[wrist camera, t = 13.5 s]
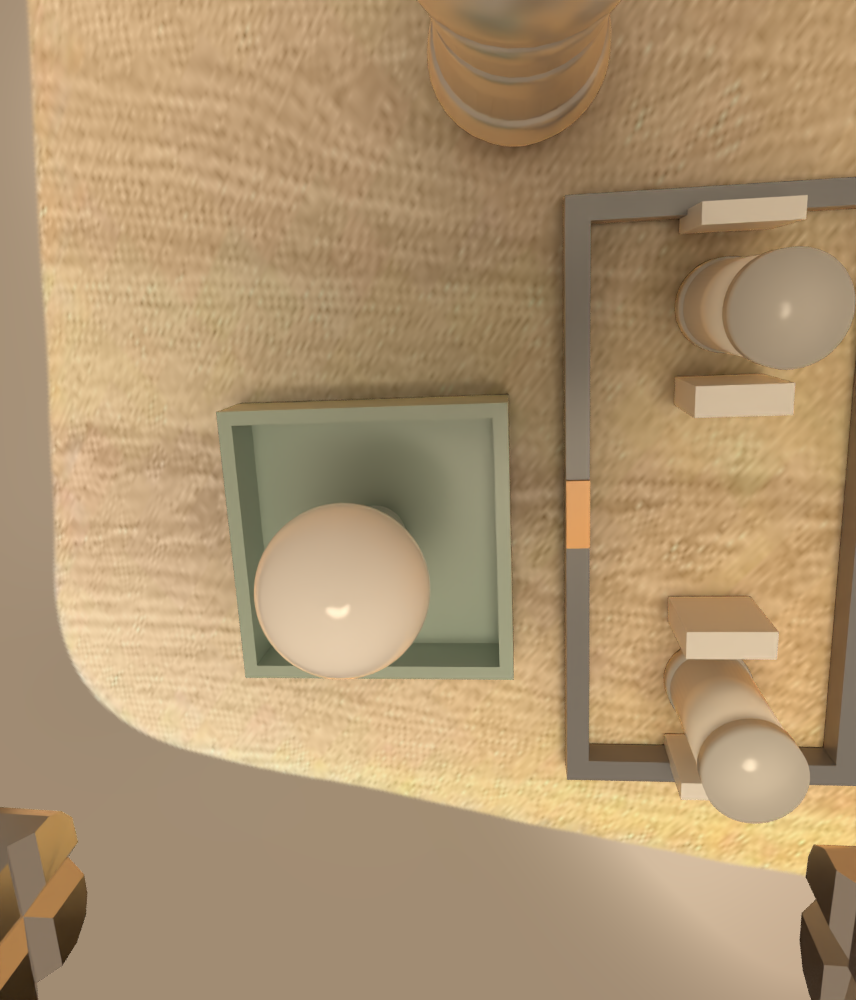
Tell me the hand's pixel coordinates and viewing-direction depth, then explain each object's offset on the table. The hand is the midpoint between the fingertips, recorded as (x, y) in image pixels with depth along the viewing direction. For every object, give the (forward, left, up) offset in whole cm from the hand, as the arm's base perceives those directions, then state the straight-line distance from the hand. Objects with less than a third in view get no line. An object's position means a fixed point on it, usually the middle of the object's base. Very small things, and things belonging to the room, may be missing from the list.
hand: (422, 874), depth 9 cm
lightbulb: (+4, -5, -27) cm, 28 cm away
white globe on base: (-6, +10, -27) cm, 29 cm away
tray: (+4, -5, -27) cm, 28 cm away
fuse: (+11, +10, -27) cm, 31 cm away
